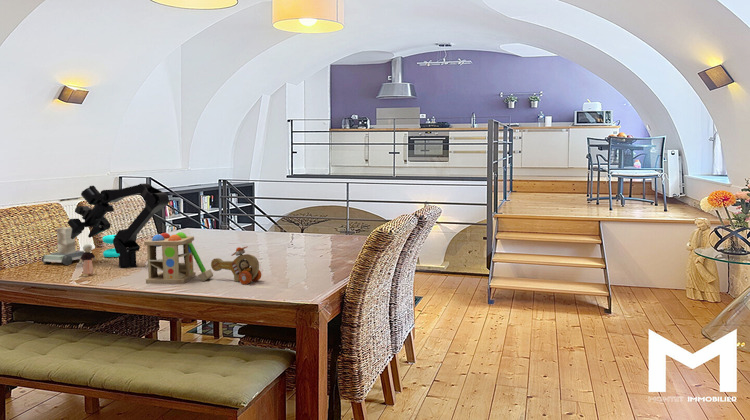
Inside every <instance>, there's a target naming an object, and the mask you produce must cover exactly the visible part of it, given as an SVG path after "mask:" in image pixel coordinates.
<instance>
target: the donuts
mask: <svg viewBox="0 0 750 420" xmlns="http://www.w3.org/2000/svg"><path fill="white" fill-rule="evenodd" d="M115 235H116V234H108V235H104V236H103V237H102V241H103V243H105V244H109V245H114V244H113V239H114V238H115V237H114V236H115ZM102 256H103V257H104V258H107V257H116V258H119V256H120V254H119V253H116V250H115V247H113V248H108V249H106V250H103V252H102Z"/></svg>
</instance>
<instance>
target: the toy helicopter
mask: <svg viewBox="0 0 750 420" xmlns="http://www.w3.org/2000/svg"><path fill="white" fill-rule="evenodd" d="M247 248H249V247H248V246H244V247H241V246H239V247H237V248H236V250H235V252H234V253H232V254H231V257H233V256H237V257H236V258H234V259H233V260H222V258H219V257H217V258H213V259H212V260H211V262H210V266H211V269H212V270H213V271H215V272H218V271H222V270H227V271H231V272H232V275H233V280H234V281H235V282H237V283H238V282H240V284H242V285H249V284H250V283H251V282H256V281H257V282H258V281H260V279H261V278H262V272H261V270H260V262H259V259H258V258H257V257H256V256H255V255H252V254H249V253H246V250H245V249H247Z"/></svg>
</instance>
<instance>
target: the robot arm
mask: <svg viewBox="0 0 750 420" xmlns="http://www.w3.org/2000/svg"><path fill="white" fill-rule="evenodd" d="M136 195H141V196H142V198H143V200H144V201H145V205H144V208H143V209H142V210H141V211H140V213H139V214H138V215H137V216H136V217H135V219H133V221H132V222H131V223H130V225H129V226H128V227H127V228H124V229H119V230H118V231H117V233H116V234H114V235H115V236H114V237H115V238H114V239H113V244H112V245H113V246H114V247H113V248H115V250H116V253H119V254H120V256H119V257H118V266H119V268H120V269H121V268H123V269H125V268H136V267H138V264H137V252H139V251H140V248H141V246H140V245H139V244H138V242H137V239H138V237H137V236H138V235H139V233H140V232H141V231H142V229H143V228H145V226H146V225H147V223H149V221H150V220H151V219H152V217H153V216H154V215H155V214H156V213H157V212H160V211H161V210H163V209H164V208H165V207H166V206H168V205H169V203H170V198H169V195H168V194H167V193H166V192H164V191H162V190H160V189H158V188H156V187H154V186H153V185H151V184H149V183H148V182H147V183H139V184H136V185H131V186H127V187H123V188H117V189H116V188H113V189H110V188H109V189H102V190H101V191H99V190H98V189H97V188H96V186H95V185H89V186H88V187H87V188H85V189H84V190H82V191H81V193H80V196H81V197H82V198H83V199H84V200H85V201H86V203H87V204H88V205H89V206H93V207H92V208H91V207H89V206H86V205H84V206H83V205H77V206H76V207H75V208H74V209H75V210H74V213H76V214H77V215H80V216H81V219H82V220H84V221H82V220H80V218H70V219H68V222H67V224H68V227H71V228H72V233H71V239H74V238H75V239H76V238H77V237H78V236H80V235H81V234H82V233H83V231H85V228H92V229H91V230H90V231H89V233H88V235H87V237H88V238H92V237H94V236H96V235H98V234H101V233H102V232H106V231H108V230H110V229H111V226H112V225H111V222H110V221H109V220H108V219H107V218H106V217H105V216H106V215H107V213H111V212H114V211H115V210H114V206H113V205H111V204H112V203H117V202H120V201H122V200H123V199H124V198H125V199H126V198H128V197H132V196H136Z"/></svg>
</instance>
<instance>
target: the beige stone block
mask: <svg viewBox="0 0 750 420" xmlns="http://www.w3.org/2000/svg"><path fill="white" fill-rule="evenodd" d="M71 233H72V228H71V227H70V226H67V227H66V226H64V227H57V228H56V241H57V252H58V253H59V254H69V253H75V252H76V250H77V249H76V248H77V247H76V237H75V238H74V239H71Z"/></svg>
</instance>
